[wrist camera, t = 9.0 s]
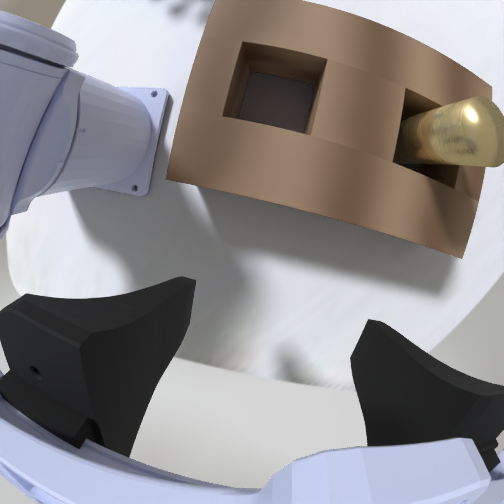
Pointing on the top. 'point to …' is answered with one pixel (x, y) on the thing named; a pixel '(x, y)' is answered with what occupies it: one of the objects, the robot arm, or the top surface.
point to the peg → (453, 135)
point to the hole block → (326, 120)
